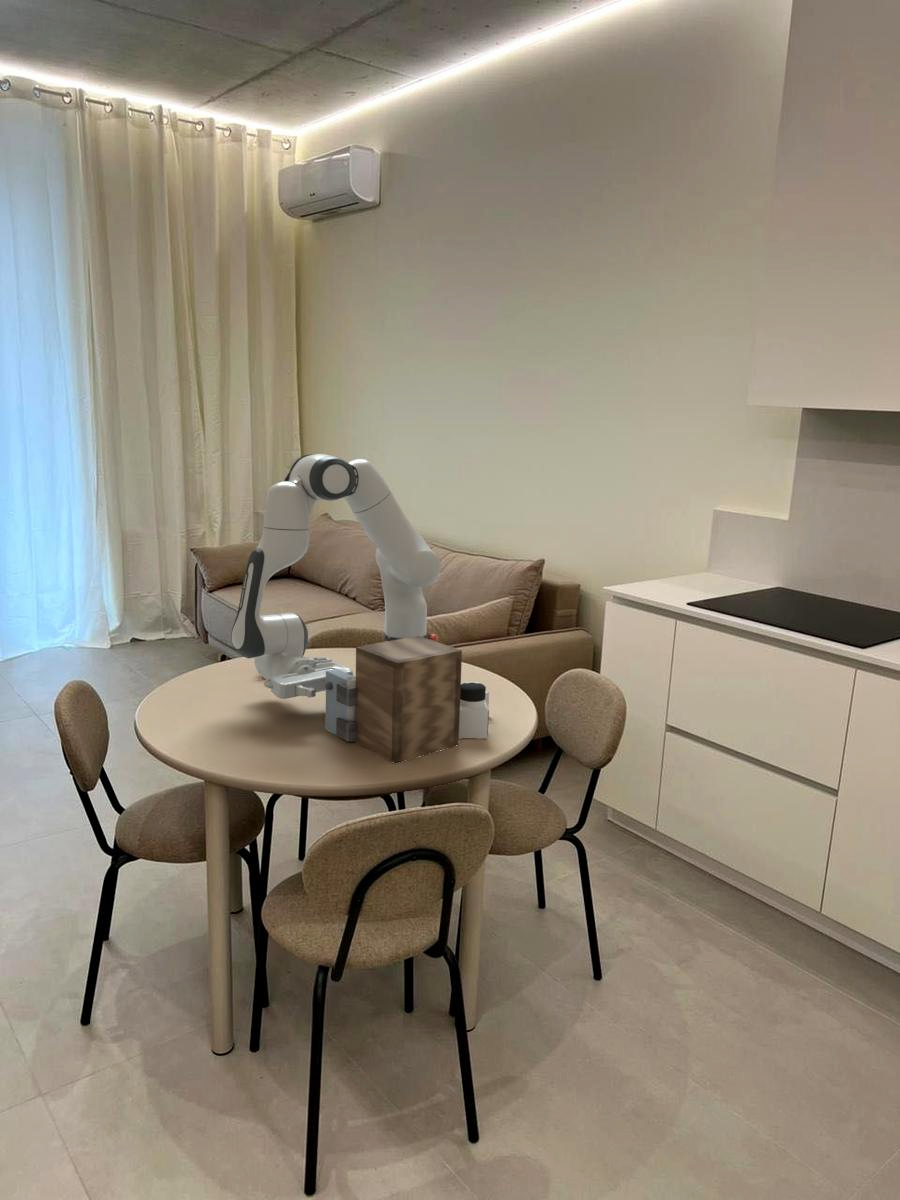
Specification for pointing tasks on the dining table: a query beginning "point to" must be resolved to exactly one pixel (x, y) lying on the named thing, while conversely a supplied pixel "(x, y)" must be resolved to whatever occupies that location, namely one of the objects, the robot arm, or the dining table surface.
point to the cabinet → (404, 698)
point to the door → (333, 706)
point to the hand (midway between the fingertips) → (330, 690)
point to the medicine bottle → (473, 711)
